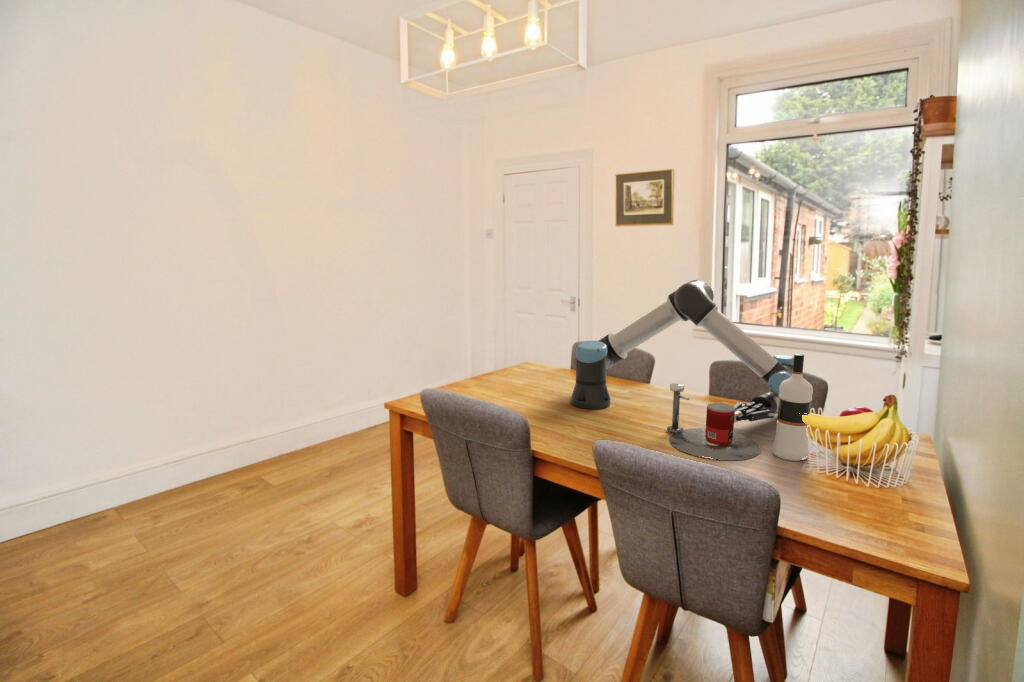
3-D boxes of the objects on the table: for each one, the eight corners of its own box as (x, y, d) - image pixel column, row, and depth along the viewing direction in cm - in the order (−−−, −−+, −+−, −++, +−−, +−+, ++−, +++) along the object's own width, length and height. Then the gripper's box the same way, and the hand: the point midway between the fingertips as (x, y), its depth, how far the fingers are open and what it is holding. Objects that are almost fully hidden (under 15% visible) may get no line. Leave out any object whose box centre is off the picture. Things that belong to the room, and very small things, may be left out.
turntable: (656, 431, 174) (656, 430, 174) (731, 427, 177) (731, 426, 177) (692, 463, 148) (692, 462, 148) (779, 457, 152) (779, 456, 152)
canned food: (734, 446, 160) (737, 411, 158) (706, 443, 162) (708, 409, 160) (730, 437, 167) (733, 403, 165) (703, 435, 169) (705, 402, 167)
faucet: (663, 430, 174) (665, 384, 171) (673, 427, 177) (675, 382, 174) (682, 436, 169) (684, 389, 166) (691, 433, 172) (694, 386, 169)
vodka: (766, 455, 153) (775, 354, 148) (779, 447, 160) (788, 349, 154) (800, 465, 147) (811, 359, 141) (813, 456, 153) (823, 354, 147)
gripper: (784, 420, 175) (747, 436, 161) (747, 411, 185) (708, 425, 171) (786, 398, 174) (749, 413, 160) (748, 390, 184) (710, 403, 170)
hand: (728, 419), depth 165 cm, fingers closed
